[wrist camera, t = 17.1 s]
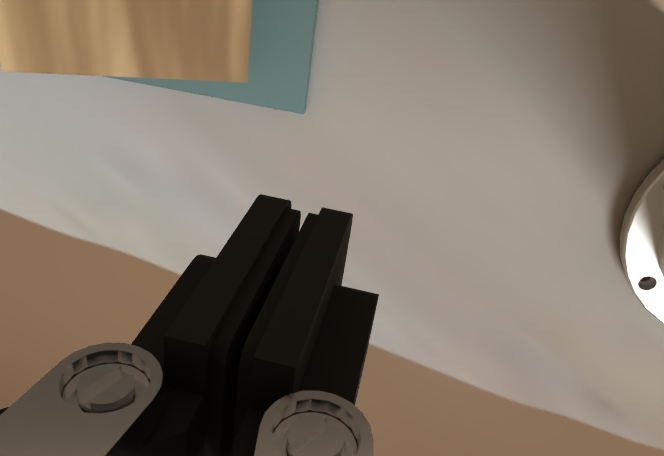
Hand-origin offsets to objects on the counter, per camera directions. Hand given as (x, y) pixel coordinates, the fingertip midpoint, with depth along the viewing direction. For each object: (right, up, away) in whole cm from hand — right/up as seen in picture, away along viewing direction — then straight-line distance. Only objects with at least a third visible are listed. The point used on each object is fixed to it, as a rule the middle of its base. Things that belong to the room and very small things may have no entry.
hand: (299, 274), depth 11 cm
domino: (-3, +10, +16) cm, 19 cm away
